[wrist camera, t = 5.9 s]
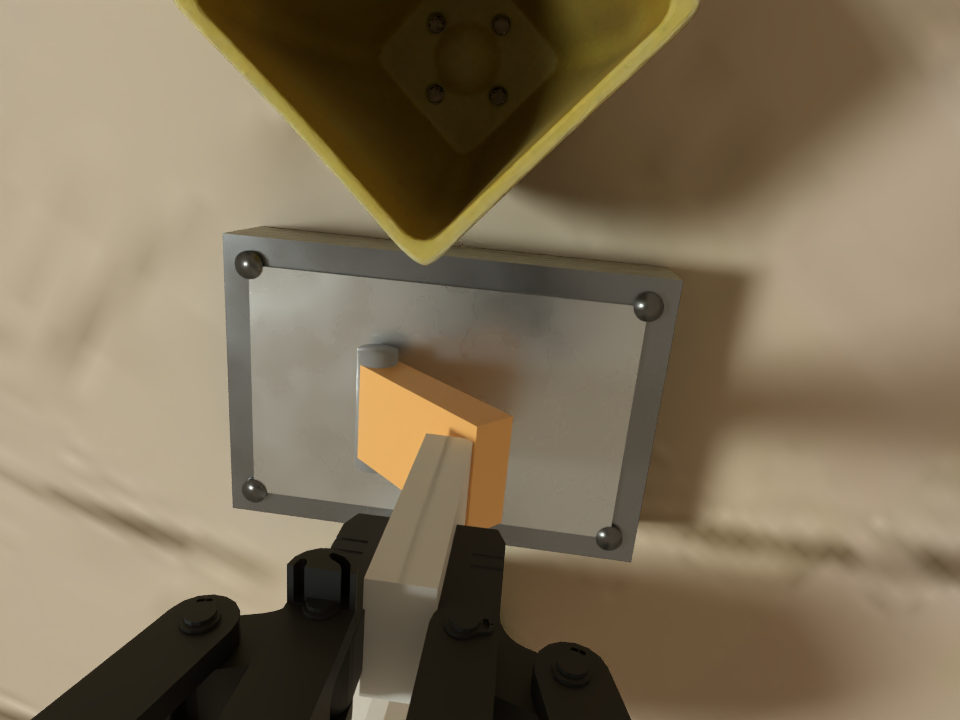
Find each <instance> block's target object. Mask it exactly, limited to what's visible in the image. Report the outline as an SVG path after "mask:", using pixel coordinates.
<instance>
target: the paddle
mask: <svg viewBox="0 0 960 720" xmlns="http://www.w3.org/2000/svg"><path fill="white" fill-rule="evenodd" d="M512 423H513V416H511V415H509V414H507V413H505V412H503V411H501V410H499V409H497V408H495V407H493V406H490V405H488V404H486V403H484V402H482V401H480V400H478V399H476V398H474V397H472V396H470V395H468V394H466V393H464V392H461V391H459V390H457V389H455V388H453V387H451V386H449V385H447V384H445V383H443V382H441V381H439V380H437V379H435V378H432V377H430V376H428V375H426V374H424V373H422V372H420V371H418V370H416V369H414V368H412V367H410V366H408V365H406V364H403V363H401V362H399V361H398V349H397V348H396V347H394V346H390V345H385V344H366V345H362V346H359V347H358V349H357V384H356V419H355V454H354V466H355V468H356V469H358V470H360V471H362V472H366V473H379V474H380V475H382V476H383V477H384V478H386V479H387V480H389V481H390V482H391V483H393V484H394V485H395V486H397V487H398V488H400V489H401V490H402V489H403V486H404V484H405V482H406V479H407V477H408V475H409V472H410V470H411V468H412V465H413V463H414V461H415V458H416V456H417V454H418V451H419V449H420V447H421V444H422V442H423V440H424V437H425V435H426V433H428V434H436V435H444V436H452V437H460V438H466V439H468V440H470V441H472V442H473V446H472V456H471V467H470V477H469V488H468V498H467V509H466V519H465V526H473V527H481V528H490V527H492V526H495V525H497V524H499V523H502V514H503V505H504V496H505V487H506V477H507V468H508V459H509V450H510V441H511V432H512Z"/></svg>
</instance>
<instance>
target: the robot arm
mask: <svg viewBox="0 0 960 720" xmlns="http://www.w3.org/2000/svg"><path fill="white" fill-rule="evenodd" d="M472 446H473V442H472V441H470V440H468V439H466V438H460V437H452V436H444V435H436V434H428V433H426V435H425V437H424V440H423V442H422V444H421V447H420V449H419V451H418V454H417V456H416V458H415V461H414V463H413V465H412V468H411V470H410V472H409V475H408V477H407V479H406V482H405V484H404V486H403V489H402V491H401V493H400V496H399V498H398V500H397V503H396V505H395V507H394V510H393V512H392V514H391V517H385V516H377V515H370V514H362V513H358V514H357V515H355V516H354V517H353V518H351V519H350V520H348V521H347V522H346V523H344V524H343V526H342V528H341V530H340V532H339V534H338V535H337V538H336V540H335V541H334V543H333V544H332V546H331V549H330V548H319V549H314V550H309V551H306V552H304V553H302V554H300V555H297V556H295V557H294V558H293V559H292V560H291V561H290V562H289V563H288V564H287V603H286V604H285V606H284V608H283V609H280V610H277V611H273V612H268V613H261V614H251V615H241V616H240V610H239V608H238V606H237V604H236V602H234V601H233V600H231V599H229V598H227V597H224V596H219V595H203V596H197V597H194V598H191V599H187V600H184V601H183V602H181V603H179V604H178V605H176V606H174V607H173V608H171V609H170V610H168V611H167V612H166V613H165V614H163V615H162V616H161V617H160V618H158V619H157V620H156V621H155V622H153V623H152V624H151V625H150V626H148V627H147V628H146V629H145V630H143V631H142V632H141V633H139V634H138V635H137V636H136V637H134V638H133V639H132V640H131V641H129V642H128V643H127V644H126V645H124V646H123V647H122V648H121V649H119V650H118V651H117V652H116V653H114V654H113V655H112V656H110V657H109V658H108V659H107V660H105V661H104V662H103V663H102V664H100V665H99V666H98V667H97V668H95V669H94V670H93V671H92V672H90V673H89V674H88V675H87V676H85V677H84V678H83V679H82V680H80V681H79V682H78V683H76V684H75V685H74V686H73V687H71V688H70V689H69V690H68V691H66V692H65V693H64V694H63V695H61V696H60V697H59V698H58V699H56V700H55V701H54V702H53V703H51V704H50V705H49V706H48V707H46V708H45V709H44V710H42V711H41V712H40V713H39V714H37V715H36V716H35V717H34V718H32V719H31V720H352V711H353V696H354V693H355V690H356V687H357V685H358V682H359V679H360V688H359V696H361V697H367V698H374V699H381V700H388V701H393V702H400V703H407V704H409V709H408V713H407V717H406V720H631V718H630V716H629V714H628V712H627V709H626V707H625V705H624V703H623V700H622V698H621V696H620V694H619V691H618V689H617V687H616V685H615V682H614V680H613V678H612V676H611V673H610V671H609V669H608V667H607V666H606V664H605V663H604V662H603V660H602V659H601V657H599V656H598V655H597V654H596V653H594V652H593V651H592V650H590V649H589V648H586V647H584V646H581V645H579V644H576V643H568V642H558V643H553V644H549V645H547V646H546V647H544V648H543V649H541V650H540V651H539V652H538V653H537V652H534V651H532V650H529V649H527V648H525V647H523V646H521V645H519V644H517V643H516V642H515V641H514V640H512V639H511V638H510V637H509V636H508V635H507V634H506V632H505V631H504V630H503V628H502V625H501V623H500V603H501V592H502V580H503V568H504V556H505V544H506V543H505V541H504V540H503V538H502V536H501V534H500V532H499V531H498V530H496V529H489V528H481V527H473V526H465V519H466V509H467V498H468V488H469V477H470V467H471V456H472Z"/></svg>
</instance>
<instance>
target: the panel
mask: <svg viewBox="0 0 960 720" xmlns="http://www.w3.org/2000/svg"><path fill="white" fill-rule="evenodd" d="M223 256H224V282H225V309H226V336H227V363H228V389H229V416H230V443H231V470H232V496H233V508H238V509H246V510H253V511H260V512H268V513H275V514H282V515H290V516H297V517H304V518H311V519H319V520H326V521H333V522H341V523H346V522H347V521H348V520H350V519H351V518H353V517H354V516H355V515H357V514H358V513H362V514H370V515H377V516H385V517H391V514H392V512H393V510H394V507H395V505H396V503H397V500H398V498H399V496H400V493H401V491H402V490H401V489H400V488H398V487H397V486H395V485H394V484H393V483H391V482H390V481H389V480H387V479H386V478H384V477H383V476H382V475H380V474H379V473H366V472H362V471H360V470H358V469H356V468H355V466H354V454H355V419H356V384H357V349H358V347H359V346H362V345H366V344H385V345H390V346H394V347H396V348H397V349H398V361H399V362H401V363H403V364H406V365H408V366H410V367H412V368H414V369H416V370H418V371H420V372H422V373H424V374H426V375H428V376H430V377H432V378H435V379H437V380H439V381H441V382H443V383H445V384H447V385H449V386H451V387H453V388H455V389H457V390H459V391H461V392H464V393H466V394H468V395H470V396H472V397H474V398H476V399H478V400H480V401H482V402H484V403H486V404H488V405H490V406H493V407H495V408H497V409H499V410H501V411H503V412H505V413H507V414H509V415H511V416H513V423H512V432H511V441H510V450H509V459H508V468H507V477H506V487H505V496H504V505H503V514H502V523H499V524H497V525H495V526H492V527H490V528H489V529H496V530H498V531H499V532H500V534H501V536H502V538H503V540H504V541H505V543H506V544H505V545H508V546H516V547H523V548H530V549H538V550H545V551H552V552H560V553H567V554H574V555H581V556H589V557H596V558H603V559H611V560H618V561H625V562H631V559H632V554H633V549H634V543H635V538H636V533H637V527H638V522H639V516H640V511H641V506H642V500H643V495H644V490H645V484H646V479H647V473H648V468H649V463H650V457H651V452H652V447H653V441H654V436H655V430H656V425H657V420H658V414H659V409H660V404H661V398H662V393H663V387H664V382H665V377H666V371H667V366H668V360H669V355H670V350H671V344H672V339H673V334H674V328H675V323H676V317H677V312H678V307H679V301H680V296H681V291H682V285H683V280H682V279H681V278H680V277H679V276H677V275H676V274H675V273H674V272H672V271H671V270H670V269H668V268H667V267H659V266H649V265H639V264H629V263H619V262H609V261H599V260H589V259H579V258H569V257H560V256H550V255H540V254H530V253H520V252H510V251H500V250H490V249H480V248H470V247H460V246H452V247H451V248H450V249H449V250H448V251H447V252H446V253H445V254H444V255H443V256H441V257H440V258H439V259H438V260H437V261H435V262H433V263H431V264H429V265H422V264H419V263H417V262H416V261H414V260H413V259H411V258H410V257H409V256H408V255H407V254H406V253H405V252H404V251H403V250H401V249H400V248H399V246H398V245H397V244H396V243H395V242H394V241H393V240H390V239H380V238H371V237H361V236H351V235H341V234H331V233H321V232H311V231H301V230H291V229H281V228H271V227H261V226H260V227H255V228H249V229H244V230H238V231H233V232H227V233H223Z"/></svg>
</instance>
